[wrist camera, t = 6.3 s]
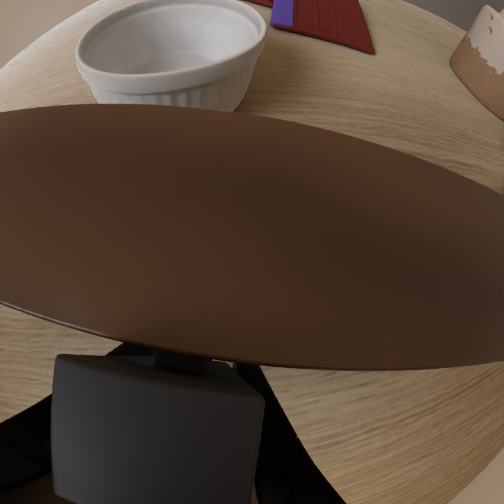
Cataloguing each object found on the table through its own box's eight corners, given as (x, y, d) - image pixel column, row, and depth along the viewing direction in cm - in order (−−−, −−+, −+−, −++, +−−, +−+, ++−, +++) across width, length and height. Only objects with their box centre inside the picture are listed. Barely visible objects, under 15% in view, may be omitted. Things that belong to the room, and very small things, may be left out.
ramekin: (247, 163, 19) (262, 83, 13) (71, 152, 18) (36, 85, 12) (260, 59, 24) (271, -2, 17) (129, 53, 23) (120, -3, 16)
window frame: (377, 366, 16) (557, 350, 4) (25, 308, 14) (-122, 239, 3) (381, 296, 17) (539, 214, 6) (41, 243, 16) (-76, 130, 4)
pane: (354, 408, 13) (546, 445, 3) (155, 391, 12) (5, 469, 2) (362, 318, 15) (548, 243, 4) (169, 292, 14) (72, 136, 4)
